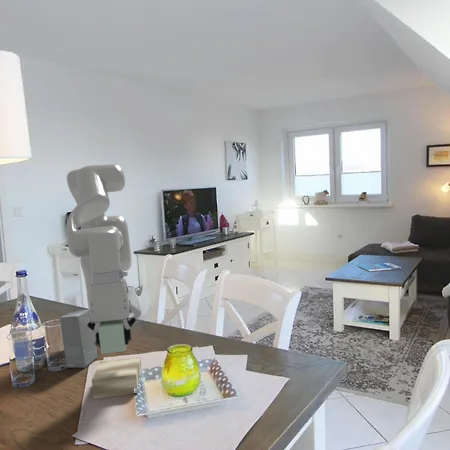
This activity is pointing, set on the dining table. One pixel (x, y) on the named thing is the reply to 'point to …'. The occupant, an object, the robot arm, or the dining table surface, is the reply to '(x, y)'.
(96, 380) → the base block
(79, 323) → the skincare box
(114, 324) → the sage block
